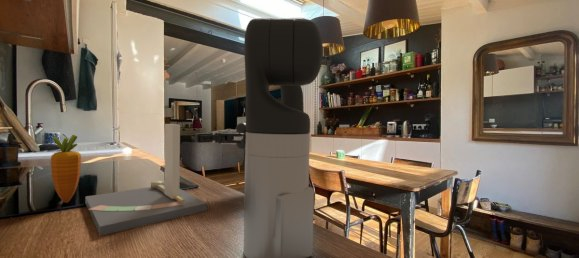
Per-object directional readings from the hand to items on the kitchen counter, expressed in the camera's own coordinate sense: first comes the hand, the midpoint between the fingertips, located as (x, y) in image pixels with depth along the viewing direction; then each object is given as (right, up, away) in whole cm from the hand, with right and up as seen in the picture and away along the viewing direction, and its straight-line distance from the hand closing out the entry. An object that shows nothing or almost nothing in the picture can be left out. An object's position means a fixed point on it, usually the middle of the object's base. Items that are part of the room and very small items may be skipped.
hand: (196, 138), depth 61 cm
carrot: (-26, -14, -6) cm, 30 cm away
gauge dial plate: (-8, -14, -8) cm, 18 cm away
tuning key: (-5, -13, -3) cm, 14 cm away
